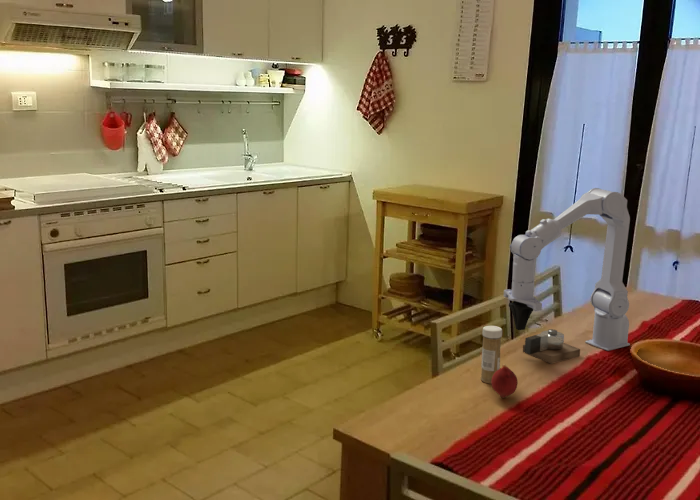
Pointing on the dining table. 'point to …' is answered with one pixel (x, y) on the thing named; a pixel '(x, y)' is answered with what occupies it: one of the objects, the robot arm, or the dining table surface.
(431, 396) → the dining table surface
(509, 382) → the onion
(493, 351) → the sprinkles bottle
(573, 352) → the walnut base
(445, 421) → the dining table surface
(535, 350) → the lever handle
